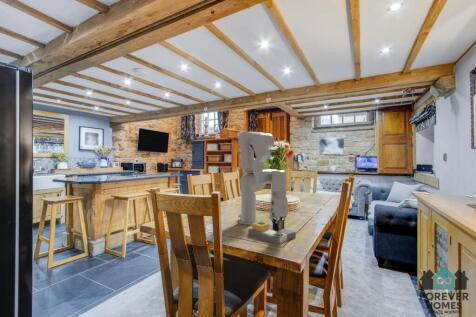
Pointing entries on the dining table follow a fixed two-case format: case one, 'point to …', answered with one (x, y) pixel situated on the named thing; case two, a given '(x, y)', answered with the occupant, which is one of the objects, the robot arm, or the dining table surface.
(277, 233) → the awl
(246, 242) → the dining table surface
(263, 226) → the block
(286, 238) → the subfloor board
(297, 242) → the dining table surface
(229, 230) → the dining table surface
